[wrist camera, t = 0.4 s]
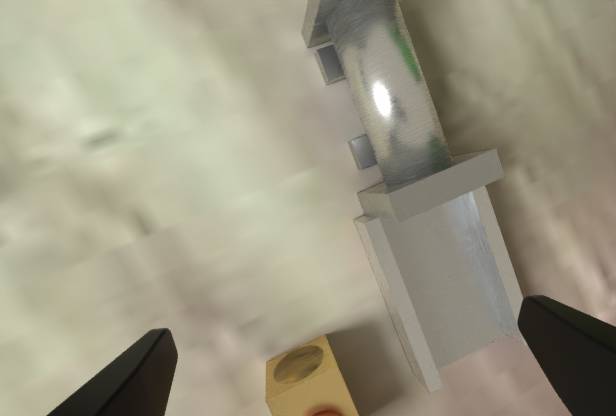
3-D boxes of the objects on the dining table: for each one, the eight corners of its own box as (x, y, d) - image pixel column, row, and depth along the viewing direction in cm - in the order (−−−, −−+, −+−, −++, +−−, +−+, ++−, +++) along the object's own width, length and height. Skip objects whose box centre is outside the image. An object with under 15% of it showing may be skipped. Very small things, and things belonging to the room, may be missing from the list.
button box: (360, 418, 22) (384, 477, 17) (304, 446, 22) (314, 515, 17) (324, 333, 21) (340, 372, 17) (265, 360, 21) (265, 408, 16)
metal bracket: (509, 324, 23) (582, 365, 18) (412, 372, 22) (458, 429, 17) (396, -1, 20) (442, -69, 15) (283, 39, 20) (288, -17, 14)
